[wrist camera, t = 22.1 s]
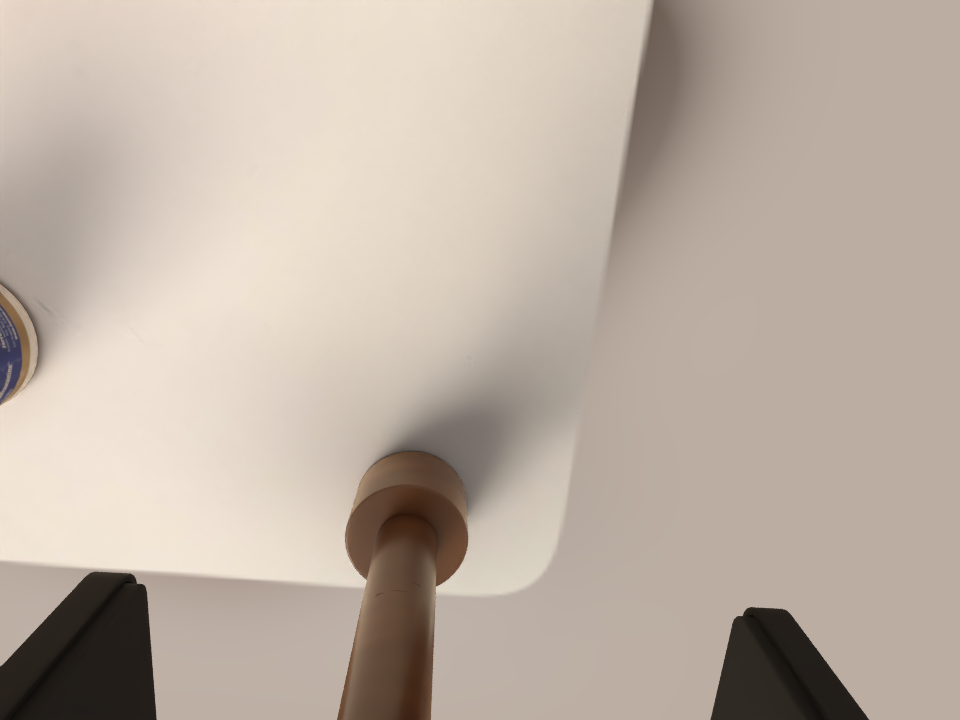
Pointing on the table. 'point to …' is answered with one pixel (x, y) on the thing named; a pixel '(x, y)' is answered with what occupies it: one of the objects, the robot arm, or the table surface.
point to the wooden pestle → (401, 581)
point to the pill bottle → (15, 346)
